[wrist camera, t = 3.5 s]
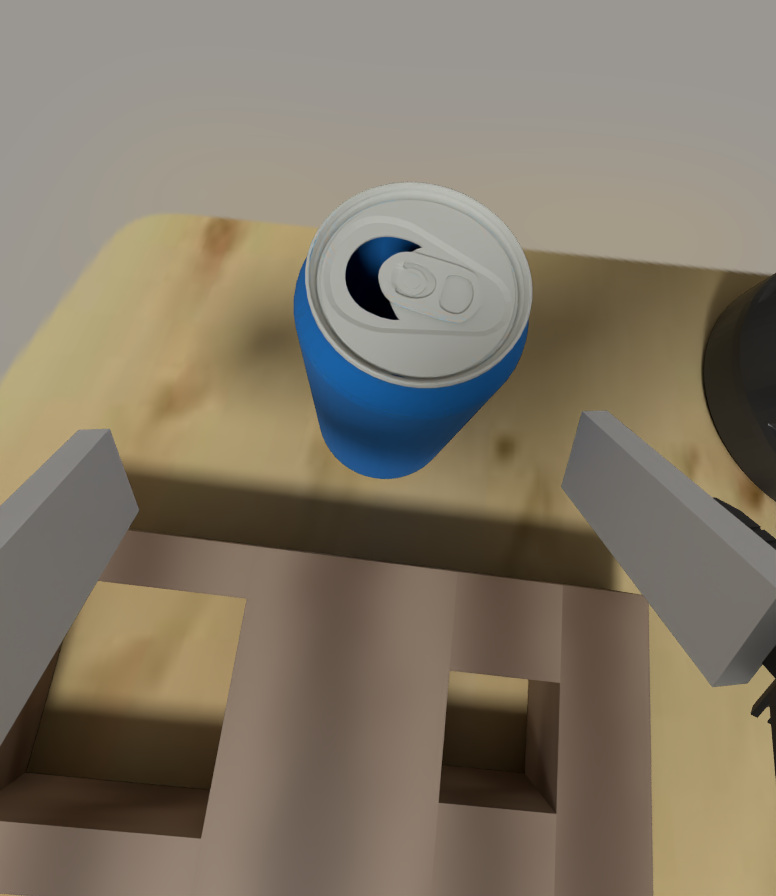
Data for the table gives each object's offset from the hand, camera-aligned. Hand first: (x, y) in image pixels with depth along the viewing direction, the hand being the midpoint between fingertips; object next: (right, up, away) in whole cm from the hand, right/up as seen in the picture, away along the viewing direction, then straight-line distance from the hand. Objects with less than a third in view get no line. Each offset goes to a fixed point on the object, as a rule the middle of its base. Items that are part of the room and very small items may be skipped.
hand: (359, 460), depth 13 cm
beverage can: (+1, +2, +10) cm, 10 cm away
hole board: (-2, -11, +7) cm, 13 cm away
